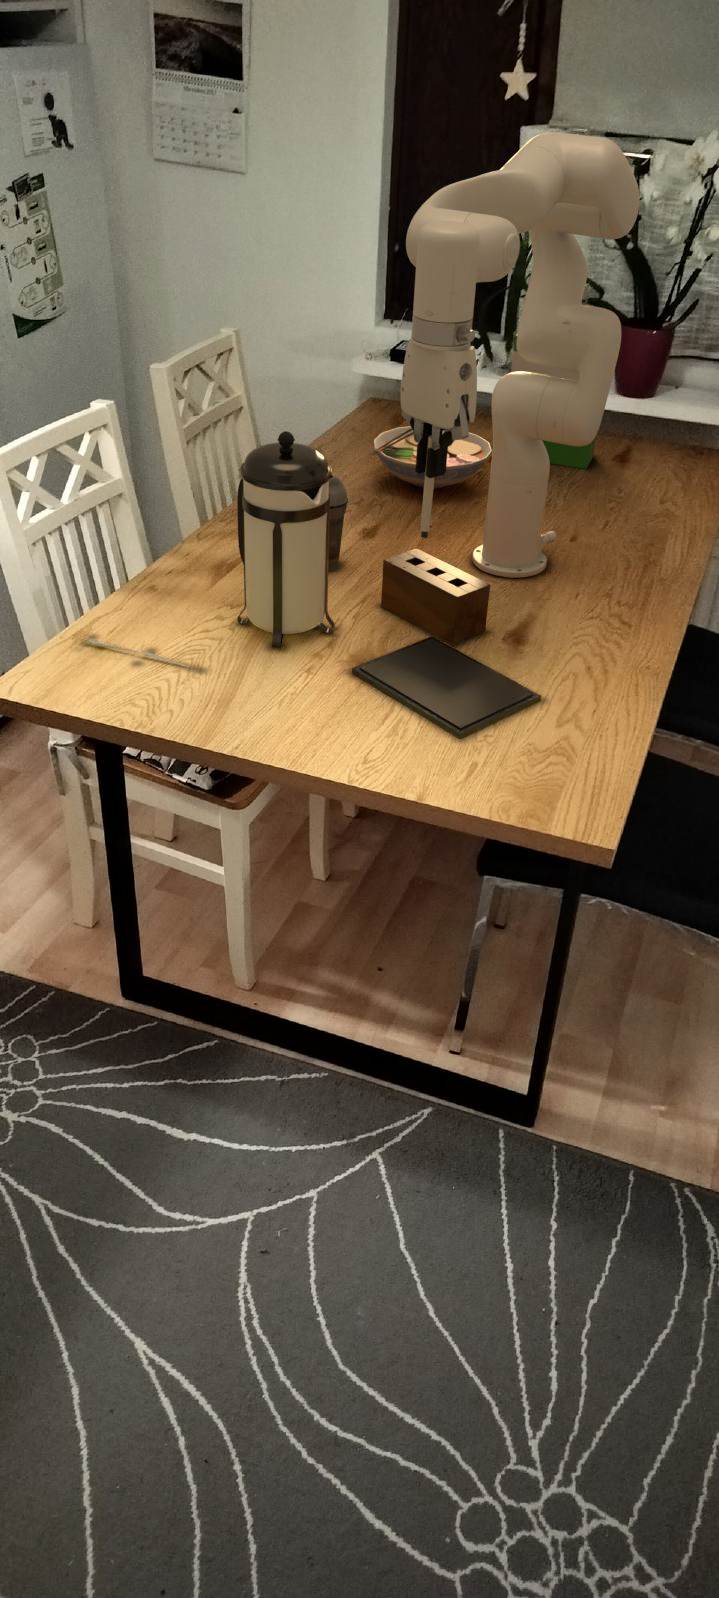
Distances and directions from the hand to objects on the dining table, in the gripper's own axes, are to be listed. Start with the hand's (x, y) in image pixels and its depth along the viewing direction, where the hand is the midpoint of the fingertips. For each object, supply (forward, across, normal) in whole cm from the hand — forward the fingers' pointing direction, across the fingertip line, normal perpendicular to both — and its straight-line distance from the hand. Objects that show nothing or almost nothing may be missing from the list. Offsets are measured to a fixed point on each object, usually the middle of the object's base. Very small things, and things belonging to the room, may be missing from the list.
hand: (430, 472), depth 160 cm
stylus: (+28, +23, +32) cm, 49 cm away
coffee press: (+28, +19, +10) cm, 35 cm away
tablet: (+28, -10, +3) cm, 29 cm away
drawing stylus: (+9, 0, 0) cm, 9 cm away
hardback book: (+27, +45, -79) cm, 95 cm away
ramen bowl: (+27, +49, -49) cm, 74 cm away
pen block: (+27, +6, -10) cm, 30 cm away
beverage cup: (+27, +32, -8) cm, 43 cm away
